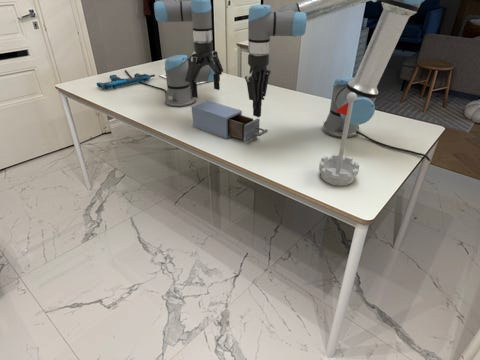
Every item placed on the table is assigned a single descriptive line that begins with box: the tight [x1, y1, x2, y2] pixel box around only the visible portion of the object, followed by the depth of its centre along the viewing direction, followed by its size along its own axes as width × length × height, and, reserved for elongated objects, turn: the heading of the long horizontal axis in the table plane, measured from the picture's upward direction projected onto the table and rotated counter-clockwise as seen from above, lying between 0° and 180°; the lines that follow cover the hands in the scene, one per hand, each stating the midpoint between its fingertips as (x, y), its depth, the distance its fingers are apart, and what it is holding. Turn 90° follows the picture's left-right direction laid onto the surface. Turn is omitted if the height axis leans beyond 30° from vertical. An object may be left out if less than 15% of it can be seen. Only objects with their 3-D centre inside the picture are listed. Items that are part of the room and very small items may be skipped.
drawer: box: [228, 114, 269, 144], centre depth 142 cm, size 25×9×8 cm, turn 51°
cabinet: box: [191, 99, 243, 140], centre depth 149 cm, size 20×10×10 cm, turn 51°
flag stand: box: [318, 92, 360, 187], centre depth 110 cm, size 13×13×30 cm
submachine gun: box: [95, 72, 156, 91], centre depth 209 cm, size 34×4×25 cm
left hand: (206, 93), depth 147 cm, fingers open, 13 cm apart
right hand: (256, 115), depth 134 cm, fingers closed
